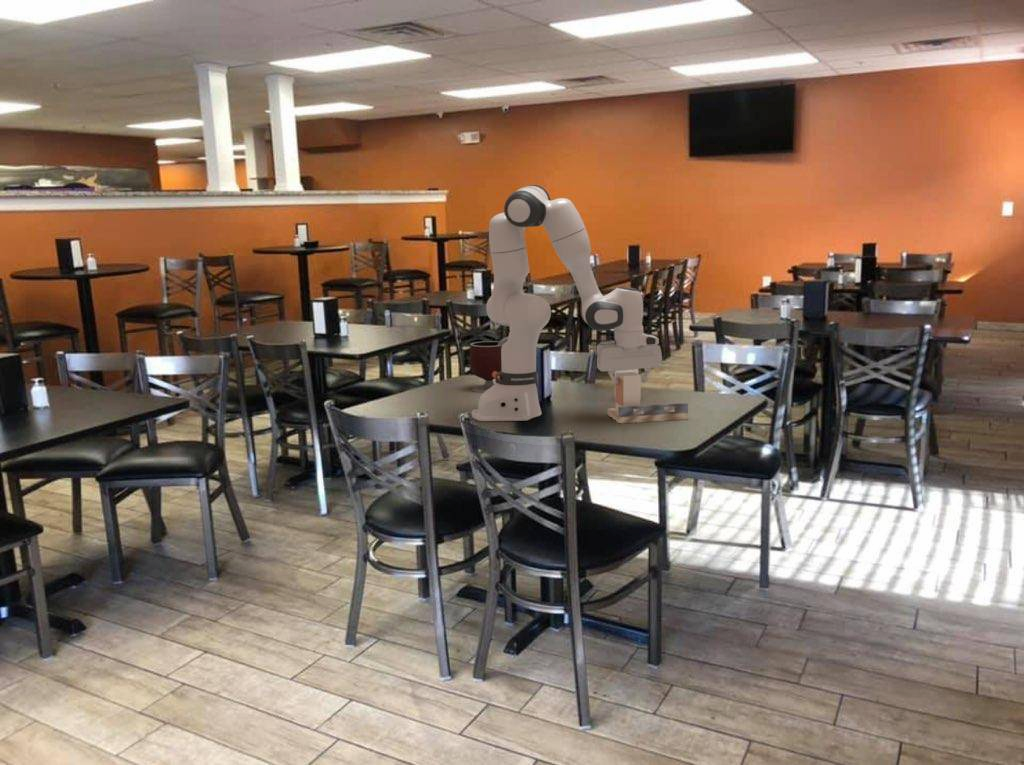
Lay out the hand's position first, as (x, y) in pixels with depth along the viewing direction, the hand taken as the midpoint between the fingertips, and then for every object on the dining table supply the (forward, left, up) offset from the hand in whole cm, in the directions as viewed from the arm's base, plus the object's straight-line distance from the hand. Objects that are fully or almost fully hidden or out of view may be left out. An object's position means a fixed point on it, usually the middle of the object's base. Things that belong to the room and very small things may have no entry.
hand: (629, 383), depth 261 cm
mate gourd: (-34, +55, -11) cm, 66 cm away
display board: (+6, -1, -11) cm, 12 cm away
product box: (-1, 0, -9) cm, 9 cm away
